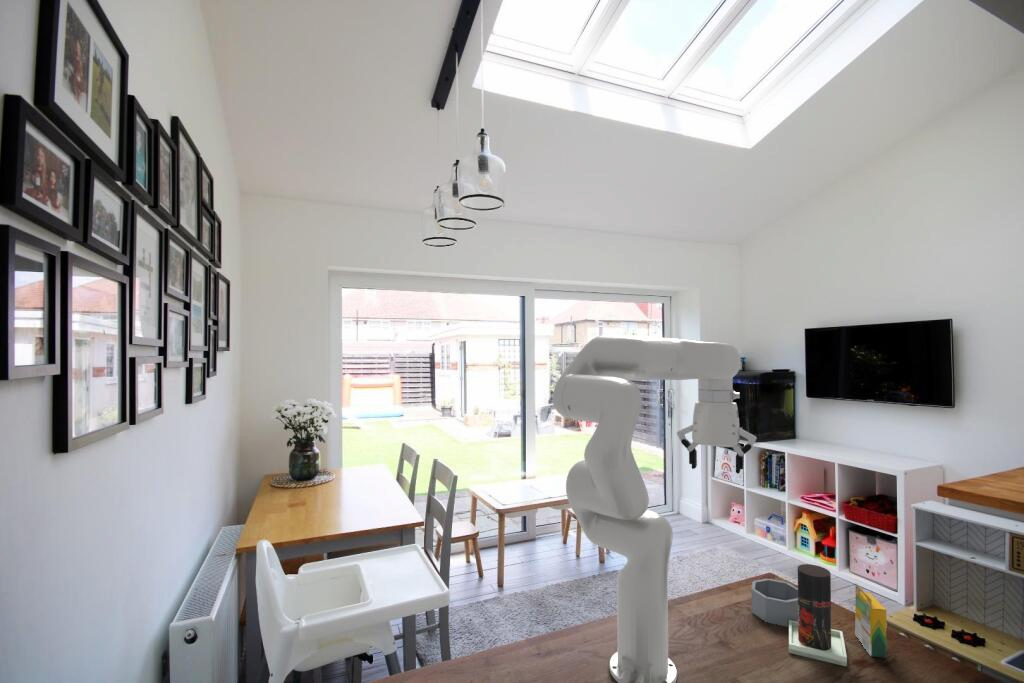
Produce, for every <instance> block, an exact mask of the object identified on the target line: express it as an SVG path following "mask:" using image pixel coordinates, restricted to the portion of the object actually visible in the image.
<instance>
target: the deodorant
mask: <svg viewBox="0 0 1024 683" xmlns="http://www.w3.org/2000/svg"><path fill="white" fill-rule="evenodd" d="M831 575H832V574H831V572H830V570H828V569H827V568H825V567H822V566H819V565H815V564H810V563H804V564H800V565H798V566H797V588H798V639H799V641H800V643H802V644H803V645H804V646H806V647H810V648H814V649H818V650H823V651H826V650H829V649H830V648H831V629H832V603H831V602H832V592H831V591H832V588H831V586H832V583H831V582H832V580H831Z"/></svg>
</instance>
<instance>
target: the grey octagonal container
mask: <svg viewBox="0 0 1024 683" xmlns="http://www.w3.org/2000/svg"><path fill="white" fill-rule="evenodd" d="M751 613H752V614H753V615H755V616H756V617H758V618H759V619H760V620H762V621H763V620H764V622H765V623H767V622H768V624H773V625H776V624H777V626H781V627H785V628H789V620H792V621H796V622H798V587H796V586H794V585H793V584H791V583H790V582H788V581H783V580H777V579H771V578H763V579H757V580H753V581H752V583H751Z"/></svg>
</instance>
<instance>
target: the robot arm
mask: <svg viewBox="0 0 1024 683" xmlns="http://www.w3.org/2000/svg"><path fill="white" fill-rule="evenodd" d="M741 360H742V359H741V355H740V352H739V350H738V349H737V348H736V347H735V346H734V345H732V343H731V344H730V343H723V342H710V341H700V340H699V341H698V340H697V341H696V340H689V339H682V338H681V339H679V338H671V337H670V338H669V337H657V336H647V335H638V334H637V335H634V334H626V335H625V334H624V335H623V334H621V335H620V334H617V335H614V334H613V335H611V334H610V335H609V334H606V335H605V334H604V335H598V336H595V337H594V338H592V339H591V340H589V341H588V342H587V343H586V344H585V345H584V346H583V347H582V348H581V350H580V351H579V352H578V353H577V354H576V355H575V357H574V358H573V359H572V361H571V362H570V364H568V366H567V367H566V368H565V370H564V371H563V372H562V373H561V375H560V376H559V378H558V380H557V381H556V384H555V386H554V388H553V392H552V402H553V403H552V404H553V407H554V408H555V411H556V412H557V413H558V414H559V415H560V416H562V417H563V418H567V419H568V420H569V419H570V420H574V421H580V422H581V421H583V422H589V423H595V424H597V426H596V428H595V430H594V432H593V434H592V436H591V437H590V439H589V440H588V441H587V444H586V446H585V448H584V453H583V456H584V457H583V458H584V459H583V460H581V461H578V462H576V463H574V465H573V466H572V467H571V468H570V469H569V471H568V474H567V475H566V481H565V490H566V492H565V493H566V498H567V500H568V503H569V506H570V507H571V510H572V511H573V514H574V515H575V516H574V517H575V518H576V519H577V521H578V523H579V526H580V528H581V529H582V532H583V533H584V535H585V537H586V538H587V540H589V541H590V542H591V544H593V545H595V546H597V547H599V548H602V549H605V550H608V551H611V552H614V553H617V554H619V555H621V556H623V557H624V558H626V559H627V562H626V564H625V565H624V566H623V567H621V568H622V569H620V571H619V573H618V575H617V577H616V625H617V626H616V628H617V630H616V632H617V633H616V635H617V640H616V641H617V651H616V652H614V653H613V654H612V656H611V658H610V660H609V671H610V675H611V676H612V677H613V679H614V680H615V681H616V682H617V683H677V678H678V671H677V667H676V665H675V663H674V662H673V661H672V660H671V659H670V658H669V611H668V610H669V606H668V604H669V601H668V600H669V596H668V592H669V590H668V587H669V586H668V585H669V584H668V579H669V578H668V577H669V575H668V574H669V564H670V557H671V551H672V548H673V547H672V546H673V539H674V538H673V537H674V533H673V528H672V525H671V523H670V522H669V520H668V519H667V518H666V517H665V516H664V515H662V514H660V513H659V512H656V511H654V510H651V509H649V503H650V502H649V501H650V499H649V498H650V497H649V492H648V489H647V486H646V484H645V481H644V479H643V477H642V474H641V472H640V471H641V470H639V467H638V466H639V465H638V464H637V461H636V460H635V457H634V453H633V450H632V442H633V437H634V434H635V431H636V427H637V423H638V421H639V417H640V415H641V412H642V405H643V404H642V403H643V401H642V394H641V391H640V388H639V386H638V384H636V383H634V382H633V381H645V380H646V381H650V380H654V381H655V380H656V381H657V380H658V381H662V380H663V381H666V380H667V381H683V380H686V381H687V380H697V391H698V392H697V394H698V395H697V397H698V398H697V400H696V401H695V403H694V407H693V408H694V409H693V415H692V424H691V425H689V426H686V427H684V428H682V429H679V430H678V431H677V432H676V435H677V437H678V439H679V440H680V442H681V444H682V445H683V447H684V448H686V450H687V451H688V464H689V465H691V469H692V470H695V469H696V468H697V466H698V462H697V461H698V459H697V458H698V456H697V455H698V451H697V449H696V448H697V447H698V445H701V446H710V447H711V446H712V447H724V448H732V449H733V450H734V451H735V453H736V455H735V473H736V474H740V472H741V470H743V469H744V455H746V454H747V453H748V452H749V451H750V450H752V448H753V446H754V444H755V443H756V441H757V436H756V435H754V434H752V433H750V432H748V431H747V430H745V429H743V428H741V427H740V418H739V409H738V404H737V402H733V401H734V400H736V399H740V398H741V396H740V392H736V391H735V390H734V388H733V386H734V385H733V378H734V377H735V376H736V375H737V374H738V373H739V371H740V369H741V368H740V367H741V365H742V364H741V363H742V361H741ZM632 380H633V381H632ZM688 433H692V434H691V436H692V442H690V441H689V440H688V439H687V437H686V434H688ZM740 437H743V438H744V439H745V440H747V443H746V444H744V445H743V446H741V445H740Z"/></svg>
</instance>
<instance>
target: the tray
mask: <svg viewBox="0 0 1024 683" xmlns="http://www.w3.org/2000/svg"><path fill="white" fill-rule="evenodd" d="M788 652H789V654H794V655H797V656H800V657H801V656H802V657H807V658H810V659H813V660H816V661H817V660H818V661H822V662H826V663H830V664H834V665H839V666H842V667H848V655H847V651H846V644H845V639H844V633H843V631H842V630H837V629H832V628H831V648H830V649H829V650H826V651H823V650H818V649H814V648H810V647H806V646H804V645H803V644H802V643H800V641H799V639H798V622H796V621H792V620H789V627H788Z"/></svg>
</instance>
